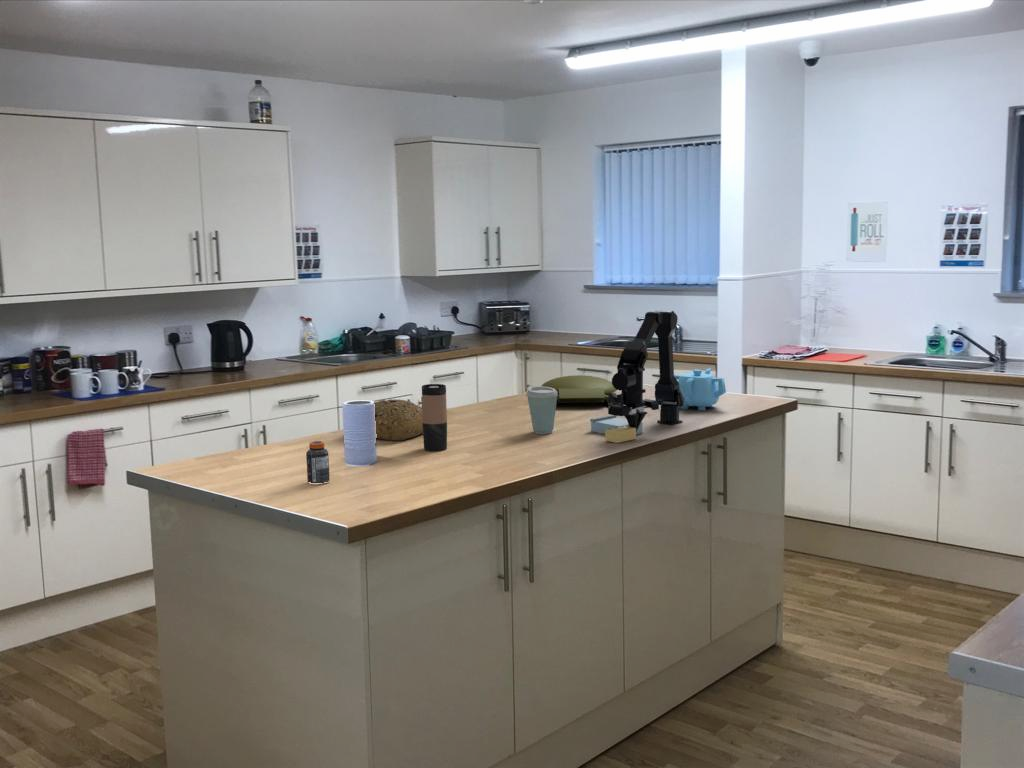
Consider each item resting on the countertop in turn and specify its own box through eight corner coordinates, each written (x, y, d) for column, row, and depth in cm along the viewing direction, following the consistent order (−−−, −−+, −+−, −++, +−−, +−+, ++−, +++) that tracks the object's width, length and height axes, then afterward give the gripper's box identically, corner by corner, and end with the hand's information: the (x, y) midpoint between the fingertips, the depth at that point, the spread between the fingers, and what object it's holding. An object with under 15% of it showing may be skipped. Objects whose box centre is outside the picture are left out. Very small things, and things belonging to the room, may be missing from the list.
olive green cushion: (623, 409, 377) (623, 383, 375) (541, 410, 377) (541, 385, 375) (613, 394, 411) (613, 370, 410) (538, 395, 411) (538, 371, 410)
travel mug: (451, 447, 314) (450, 384, 311) (441, 452, 307) (440, 388, 304) (429, 445, 317) (427, 383, 314) (419, 450, 310) (417, 387, 307)
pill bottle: (308, 480, 275) (307, 440, 274) (330, 479, 276) (329, 439, 274) (306, 485, 269) (304, 444, 268) (328, 485, 270) (326, 444, 268)
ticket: (612, 426, 343) (612, 414, 342) (643, 432, 332) (643, 419, 332) (589, 431, 336) (589, 418, 335) (620, 437, 325) (620, 424, 324)
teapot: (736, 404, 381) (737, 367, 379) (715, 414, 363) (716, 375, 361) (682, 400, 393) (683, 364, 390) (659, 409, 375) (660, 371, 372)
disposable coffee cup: (564, 431, 335) (564, 387, 333) (543, 437, 327) (543, 392, 325) (541, 427, 342) (540, 384, 340) (519, 432, 335) (519, 388, 332)
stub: (624, 436, 326) (624, 425, 325) (636, 438, 322) (636, 427, 321) (605, 440, 320) (605, 429, 319) (616, 443, 316) (616, 431, 315)
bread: (438, 431, 340) (437, 396, 338) (406, 444, 320) (405, 407, 319) (376, 426, 350) (375, 392, 348) (342, 438, 330) (341, 402, 328)
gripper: (634, 380, 334) (634, 426, 336) (595, 386, 322) (595, 434, 324) (660, 384, 326) (659, 431, 328) (621, 390, 314) (621, 439, 316)
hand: (633, 433), depth 324 cm, fingers closed
